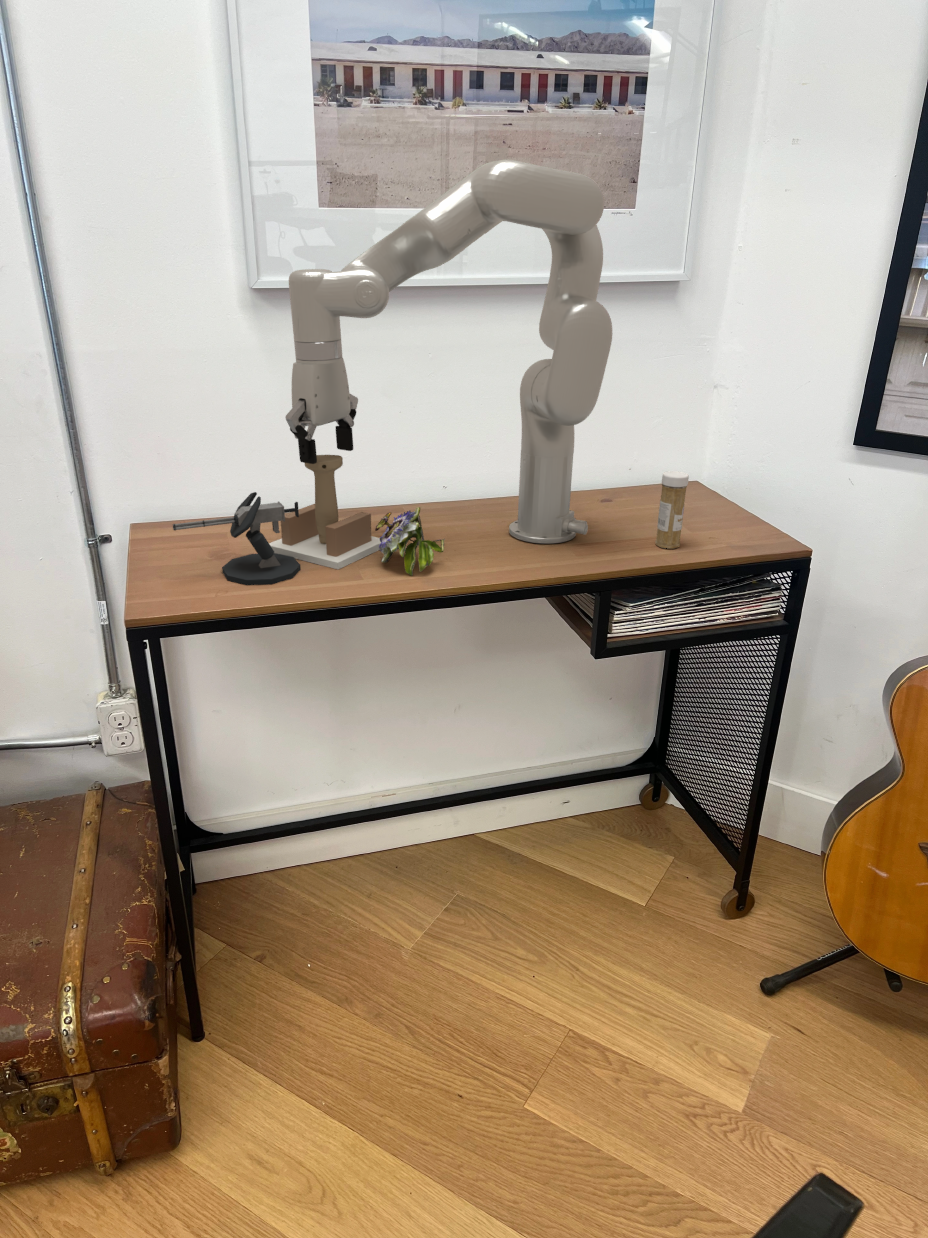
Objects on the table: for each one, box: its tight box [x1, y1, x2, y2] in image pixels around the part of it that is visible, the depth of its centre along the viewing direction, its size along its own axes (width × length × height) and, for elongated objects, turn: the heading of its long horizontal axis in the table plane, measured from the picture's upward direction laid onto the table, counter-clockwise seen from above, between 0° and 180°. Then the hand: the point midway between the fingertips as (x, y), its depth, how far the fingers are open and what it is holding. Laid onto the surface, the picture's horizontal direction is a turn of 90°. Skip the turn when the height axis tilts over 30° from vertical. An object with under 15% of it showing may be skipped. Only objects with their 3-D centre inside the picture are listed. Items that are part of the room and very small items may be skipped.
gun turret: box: [172, 491, 302, 586], centre depth 140 cm, size 13×20×13 cm, turn 116°
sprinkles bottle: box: [654, 470, 690, 550], centre depth 157 cm, size 5×5×14 cm
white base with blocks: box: [268, 503, 381, 570], centre depth 153 cm, size 16×14×6 cm
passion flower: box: [374, 506, 446, 577], centre depth 147 cm, size 11×11×12 cm
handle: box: [304, 454, 344, 543], centre depth 151 cm, size 5×6×15 cm
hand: (327, 456), depth 148 cm, fingers open, 9 cm apart
